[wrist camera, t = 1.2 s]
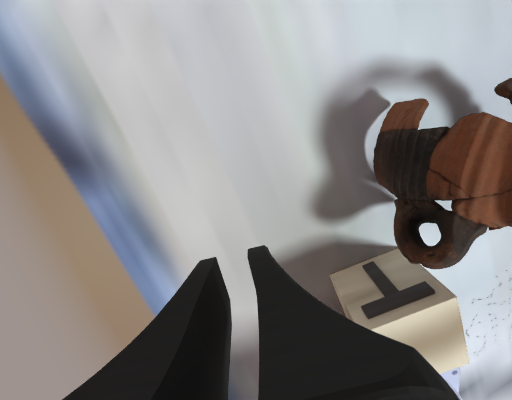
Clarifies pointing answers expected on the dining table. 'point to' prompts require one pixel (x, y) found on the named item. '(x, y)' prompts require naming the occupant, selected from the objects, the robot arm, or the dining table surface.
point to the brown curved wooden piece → (445, 178)
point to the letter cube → (404, 307)
